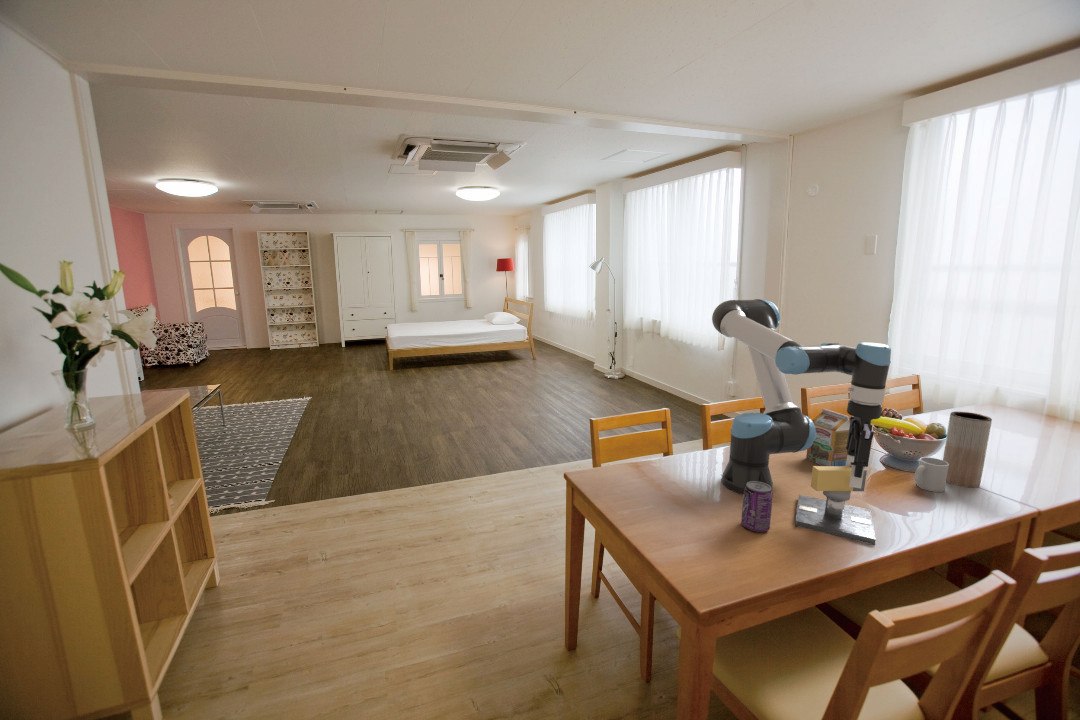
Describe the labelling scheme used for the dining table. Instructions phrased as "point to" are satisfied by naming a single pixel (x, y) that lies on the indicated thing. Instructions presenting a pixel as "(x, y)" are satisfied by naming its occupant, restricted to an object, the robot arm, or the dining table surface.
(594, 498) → the dining table surface
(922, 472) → the grey cup
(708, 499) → the dining table surface
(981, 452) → the planter
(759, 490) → the beverage can
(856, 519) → the post base
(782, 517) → the dining table surface
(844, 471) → the handle
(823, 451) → the milk carton
